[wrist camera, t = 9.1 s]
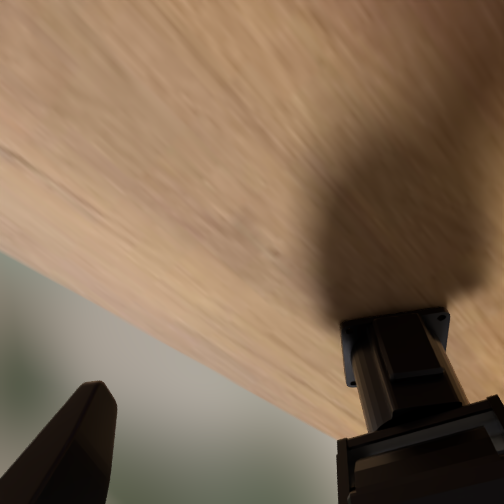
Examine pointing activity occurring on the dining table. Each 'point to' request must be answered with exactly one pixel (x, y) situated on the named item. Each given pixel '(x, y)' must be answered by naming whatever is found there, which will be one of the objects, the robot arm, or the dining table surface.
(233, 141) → the dining table surface
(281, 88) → the dining table surface
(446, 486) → the robot arm
